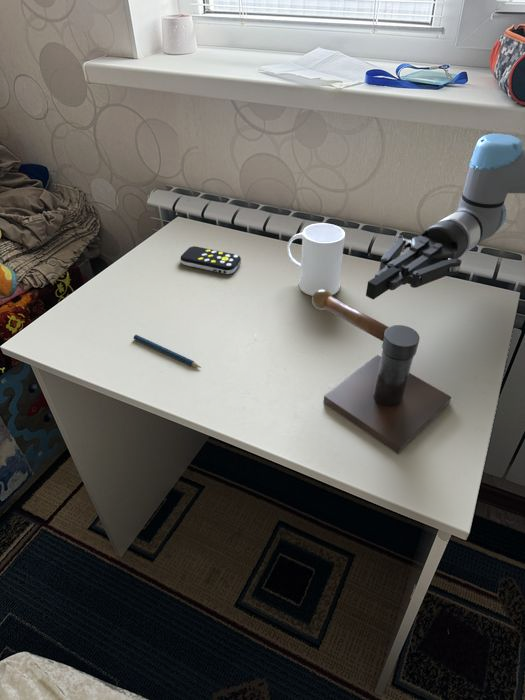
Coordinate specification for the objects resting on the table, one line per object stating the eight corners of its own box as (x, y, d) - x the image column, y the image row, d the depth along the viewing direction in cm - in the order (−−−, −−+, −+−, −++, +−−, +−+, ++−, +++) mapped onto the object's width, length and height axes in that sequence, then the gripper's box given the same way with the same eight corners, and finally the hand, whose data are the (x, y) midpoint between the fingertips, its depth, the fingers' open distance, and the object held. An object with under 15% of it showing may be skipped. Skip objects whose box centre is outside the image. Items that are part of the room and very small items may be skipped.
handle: (422, 350, 72) (427, 333, 70) (403, 366, 70) (407, 349, 68) (323, 297, 82) (325, 280, 80) (303, 309, 80) (304, 292, 78)
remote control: (191, 251, 115) (190, 243, 114) (243, 262, 112) (243, 254, 110) (178, 264, 111) (177, 256, 109) (231, 276, 107) (231, 268, 106)
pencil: (137, 337, 92) (203, 367, 86) (133, 340, 91) (199, 371, 85) (136, 333, 91) (202, 364, 85) (133, 336, 91) (199, 367, 85)
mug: (277, 284, 105) (278, 231, 97) (298, 265, 111) (300, 214, 103) (328, 302, 100) (333, 248, 92) (347, 282, 106) (353, 229, 98)
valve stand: (449, 403, 80) (468, 350, 72) (398, 454, 72) (413, 400, 65) (376, 360, 87) (386, 309, 80) (323, 402, 80) (329, 349, 72)
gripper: (476, 271, 91) (401, 327, 79) (414, 245, 98) (336, 293, 86) (488, 233, 86) (410, 287, 74) (422, 208, 93) (340, 254, 81)
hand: (370, 290), depth 80 cm, fingers closed
